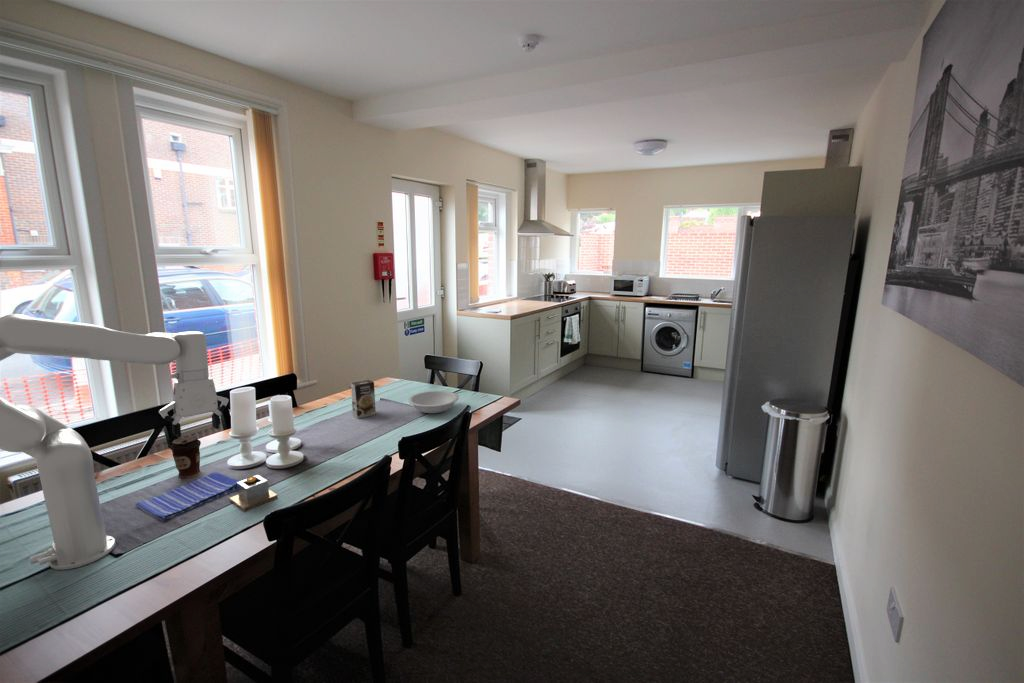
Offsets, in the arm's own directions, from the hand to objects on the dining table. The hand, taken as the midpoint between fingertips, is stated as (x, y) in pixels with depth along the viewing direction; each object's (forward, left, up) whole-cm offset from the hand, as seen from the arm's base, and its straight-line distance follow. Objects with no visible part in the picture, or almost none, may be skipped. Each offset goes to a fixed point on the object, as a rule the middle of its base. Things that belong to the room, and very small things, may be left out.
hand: (197, 431), depth 136 cm
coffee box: (+78, +32, -25) cm, 88 cm away
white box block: (+11, -5, -24) cm, 27 cm away
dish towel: (0, +13, -26) cm, 29 cm away
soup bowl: (+102, +10, -25) cm, 105 cm away
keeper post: (+11, -5, -25) cm, 28 cm away
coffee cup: (+5, +30, -25) cm, 39 cm away
